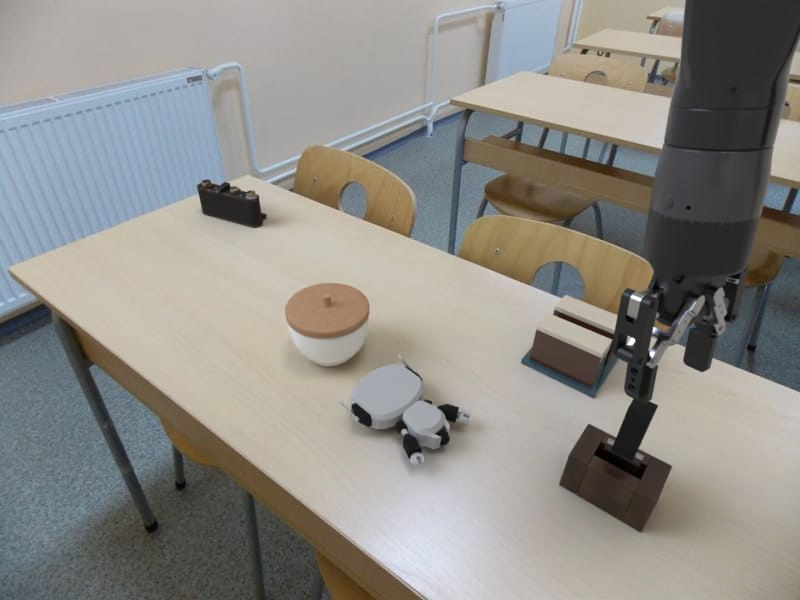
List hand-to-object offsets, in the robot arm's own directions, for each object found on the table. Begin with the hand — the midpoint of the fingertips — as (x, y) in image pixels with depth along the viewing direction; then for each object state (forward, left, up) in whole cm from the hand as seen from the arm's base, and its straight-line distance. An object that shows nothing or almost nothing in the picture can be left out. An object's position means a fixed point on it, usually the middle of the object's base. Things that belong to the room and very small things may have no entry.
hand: (667, 382), depth 46 cm
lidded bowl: (+45, -2, -23) cm, 51 cm away
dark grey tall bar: (+1, -5, -23) cm, 23 cm away
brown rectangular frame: (+1, -5, -23) cm, 23 cm away
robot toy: (+27, +2, -23) cm, 36 cm away
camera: (+95, -22, -23) cm, 100 cm away
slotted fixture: (+14, -25, -23) cm, 36 cm away
